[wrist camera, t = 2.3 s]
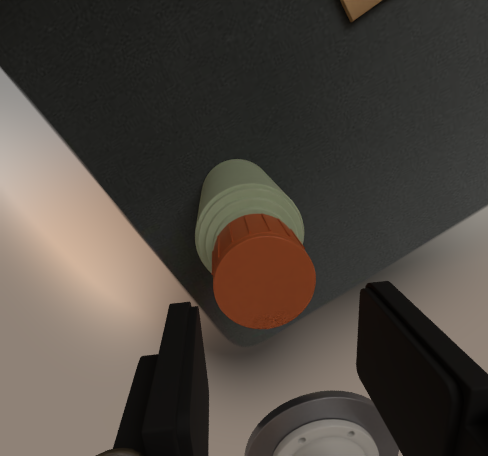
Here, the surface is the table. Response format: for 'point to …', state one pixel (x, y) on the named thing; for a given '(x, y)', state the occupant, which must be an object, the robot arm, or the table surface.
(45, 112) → the table surface
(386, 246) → the table surface
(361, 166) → the table surface
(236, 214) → the sauce bottle
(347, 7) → the coaster
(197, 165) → the table surface
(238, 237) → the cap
